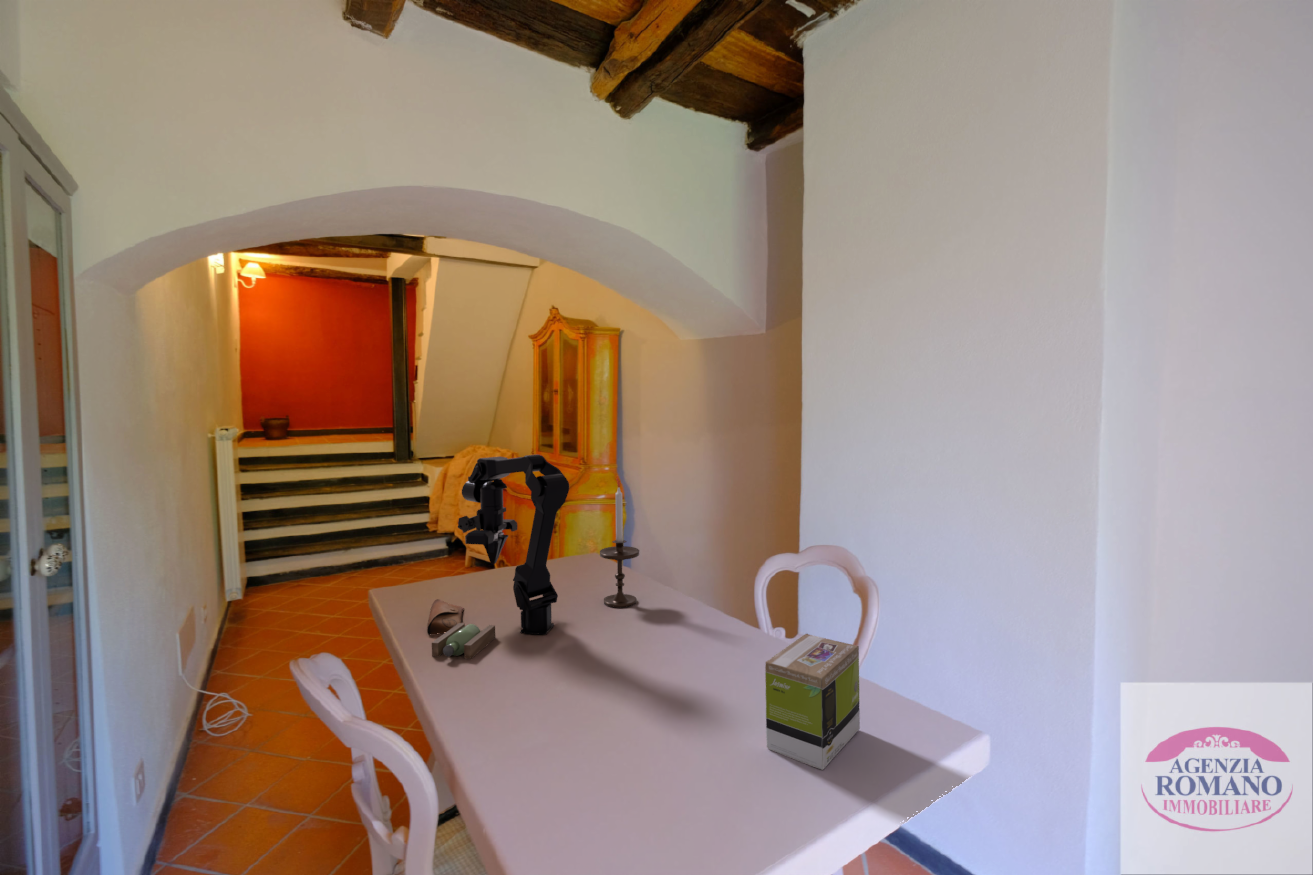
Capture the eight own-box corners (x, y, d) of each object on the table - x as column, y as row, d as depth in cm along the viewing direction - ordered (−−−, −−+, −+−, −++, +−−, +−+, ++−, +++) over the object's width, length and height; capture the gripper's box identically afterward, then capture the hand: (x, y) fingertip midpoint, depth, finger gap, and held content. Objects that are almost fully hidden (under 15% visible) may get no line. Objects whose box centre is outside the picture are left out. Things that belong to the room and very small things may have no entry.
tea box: (805, 711, 109) (806, 630, 108) (861, 730, 103) (862, 644, 102) (763, 749, 98) (764, 658, 97) (823, 773, 91) (824, 676, 90)
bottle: (483, 628, 141) (459, 645, 131) (478, 646, 141) (454, 664, 131) (465, 620, 141) (441, 637, 132) (460, 639, 142) (435, 656, 132)
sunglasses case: (464, 630, 149) (449, 609, 147) (438, 648, 147) (422, 626, 146) (464, 607, 166) (450, 587, 165) (441, 623, 164) (427, 603, 163)
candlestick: (595, 599, 172) (593, 475, 170) (630, 594, 176) (629, 473, 174) (608, 611, 162) (606, 480, 160) (646, 605, 166) (644, 477, 164)
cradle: (495, 637, 144) (495, 625, 144) (470, 658, 133) (470, 645, 132) (459, 635, 146) (459, 622, 146) (432, 655, 134) (431, 642, 134)
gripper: (480, 498, 171) (481, 553, 172) (444, 510, 153) (446, 572, 154) (517, 499, 169) (518, 555, 170) (486, 511, 151) (488, 574, 152)
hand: (493, 563), depth 161 cm, fingers closed
